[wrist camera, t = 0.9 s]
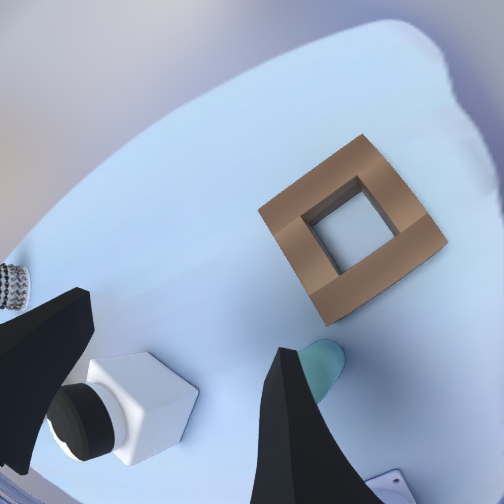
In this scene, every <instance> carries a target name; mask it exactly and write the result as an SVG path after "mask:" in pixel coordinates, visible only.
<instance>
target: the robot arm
mask: <svg viewBox="0 0 504 504" xmlns="http://www.w3.org/2000/svg"><path fill="white" fill-rule="evenodd" d="M94 331H95V330H94V323H93V316H92V309H91V301H90V292H89V291H86V290H84V289H81V288H78V287H76V288H74V289H71V290H69V291H67V292H65V293H63V294H61V295H59V296H58V297H56V298H54V299H52V300H50V301H48V302H46V303H44V304H42V305H40V306H38V307H36V308H34V309H33V310H31V311H28V312H26V313H24V314H22V315H20V316H18V317H16V318H14V319H12V320H10V321H7V322H5V323H2V324H0V466H1V467H3V466H4V464H6V465H7V466H9V467H10V468H11V469H13V470H14V471H15V472H17V473H18V474H20V475H26V474H28V470H29V465H30V461H31V457H32V452H33V449H34V446H35V442H36V439H37V436H38V433H39V430H40V428H41V425H42V423H43V420H44V418H45V415H46V413H47V411H48V409H49V406H50V404H51V402H52V400H53V398H54V396H55V395H56V393H57V391H58V389H59V388H60V386H61V385H62V383H63V382H64V380H65V379H66V377H67V376H68V374H69V373H70V371H71V370H72V369H73V367H74V366H75V364H76V363H77V361H78V360H79V358H80V357H81V355H82V354H83V352H84V351H85V349H86V347H87V345H88V343H89V341H90V339H91V337H92V335H93V333H94ZM395 479H399V480H398V481H394V480H395ZM0 490H1V491H2V492H4V493H5V494H6V495H7V496H9V497H10V498H11V499H13V500H14V501H15V502H17V503H18V504H45V503H43V502H42V501H40V500H38V499H37V498H35V497H34V496H32V495H31V494H29V493H28V492H26V491H25V490H23V489H22V488H20V487H19V486H18V485H16V484H15V483H13V482H12V481H11V480H10V479H8V478H7V477H6V476H4V475H3V474H2V473H0ZM0 504H14V503H13V502H11V501H9V500H8V499H6V498H5V497H3V496H2V495H0ZM250 504H416V502H415V500H414V498H413V496H412V494H411V492H410V490H409V488H408V486H407V484H406V482H405V480H404V478H403V476H402V475H401V473H400V471H398V470H394V471H391V472H388V473H386V474H384V475H381V476H379V477H376V478H374V479H371V480H368V481H366V482H364V481H363V480H362V478H361V477H360V476H359V475H358V473H357V472H356V471H355V469H354V468H353V467H352V466H351V464H350V463H349V462H348V460H347V459H346V457H345V456H344V454H343V453H342V451H341V450H340V448H339V446H338V445H337V443H336V441H335V440H334V438H333V436H332V434H331V433H330V431H329V429H328V427H327V425H326V423H325V421H324V419H323V417H322V415H321V413H320V411H319V409H318V406H317V404H316V402H315V399H314V397H313V395H312V392H311V390H310V387H309V385H308V382H307V379H306V376H305V374H304V371H303V368H302V365H301V362H300V359H299V355H298V353H297V351H296V350H291V349H286V348H282V347H279V349H278V351H277V353H276V356H275V358H274V360H273V363H272V365H271V367H270V370H269V372H268V374H267V377H266V379H265V381H264V386H263V392H262V398H261V404H260V418H259V439H258V459H257V468H256V474H255V480H254V486H253V491H252V496H251V501H250Z"/></svg>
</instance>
